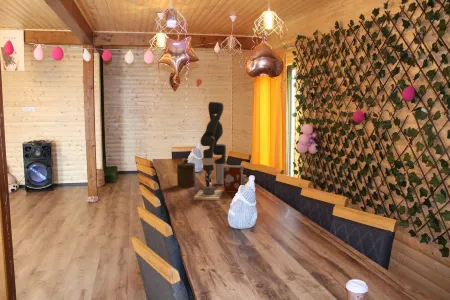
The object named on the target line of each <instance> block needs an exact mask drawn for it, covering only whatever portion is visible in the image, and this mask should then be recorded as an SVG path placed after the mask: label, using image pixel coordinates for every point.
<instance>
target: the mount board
mask: <svg viewBox="0 0 450 300" xmlns="http://www.w3.org/2000/svg"><path fill="white" fill-rule="evenodd" d="M223 193H224V189H222V190H221V189H217V190H216V189H215V194H214V195H204V194H203V189H199V190H198V191H197V193H196V194H195V195H194V196H193V200H194V201H195V200H197V201H199V200H201V201H207V200H208V201H219V200H220V199H221V197H222V195H223Z"/></svg>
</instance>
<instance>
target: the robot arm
mask: <svg viewBox="0 0 450 300" xmlns="http://www.w3.org/2000/svg"><path fill="white" fill-rule="evenodd" d="M207 108H208V114H209V119H210V120H209V121H208V123H207V125H206V129H205V130H204V132H203V134H202V136H201V137H200V140H199V142H200V145H201V146H203V147H208V149H207V148H206V149H203V151H202V154H203V158H202V166H203V167H202V169H203V171H205V173H204V174H205V175H204V177H205V179H204V180H205V181H204V182H205V186H206V187H209V182H211V183H212V178H213V177H212V171H214V184H216V185H223V168H224V166H226V165H227V162H226V154H227V153H226V152H227V150H226V149H227V148H226V144H224V143H218V142H219V139H221V137H222V136H223V132H224V130H223V129H224V128H223V124H222V123H221V121H220V120H221V117H222V115H223V112H224V103H223V102H220V101H210V102H209V103H208V106H207ZM214 156H220V157H219V158H216V159H214Z"/></svg>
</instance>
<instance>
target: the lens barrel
mask: <svg viewBox="0 0 450 300" xmlns="http://www.w3.org/2000/svg"><path fill="white" fill-rule="evenodd" d="M215 188H216V187H215V186H213V185H212V188H206V185H204V186H203V187H202V190H203V194H204V195H214V194H215V190H216V189H215Z"/></svg>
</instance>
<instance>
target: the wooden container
mask: <svg viewBox="0 0 450 300" xmlns="http://www.w3.org/2000/svg"><path fill="white" fill-rule="evenodd" d="M176 165H177V166H176V167H177V168H176V169H177V171H176V178H177V180H176V181H177V183H176V184H177V186H178V187H179V188H192V187H195V186H196V164H195V163H194V162H189V159H188V158H185V159H183V162H179V163H177V164H176Z"/></svg>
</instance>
